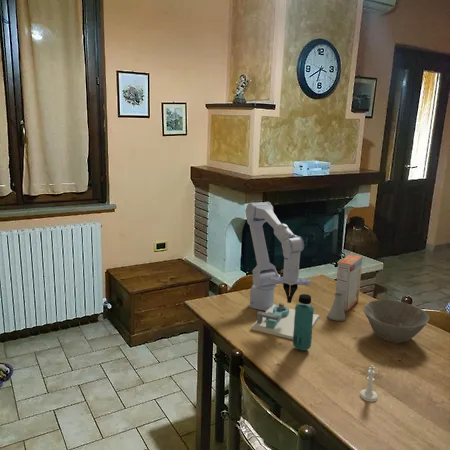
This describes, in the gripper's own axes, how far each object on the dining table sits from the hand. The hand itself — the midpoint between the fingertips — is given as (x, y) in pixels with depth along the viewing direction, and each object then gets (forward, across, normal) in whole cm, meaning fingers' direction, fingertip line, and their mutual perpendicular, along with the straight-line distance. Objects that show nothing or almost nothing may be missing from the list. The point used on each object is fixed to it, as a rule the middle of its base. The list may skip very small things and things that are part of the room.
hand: (289, 301), depth 169 cm
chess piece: (+9, +22, -43) cm, 49 cm away
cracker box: (+9, +25, +21) cm, 34 cm away
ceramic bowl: (+9, +38, -5) cm, 40 cm away
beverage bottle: (+9, +4, -19) cm, 22 cm away
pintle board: (+9, -1, 0) cm, 9 cm away
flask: (+9, +20, +8) cm, 23 cm away
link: (+7, -4, 0) cm, 9 cm away
